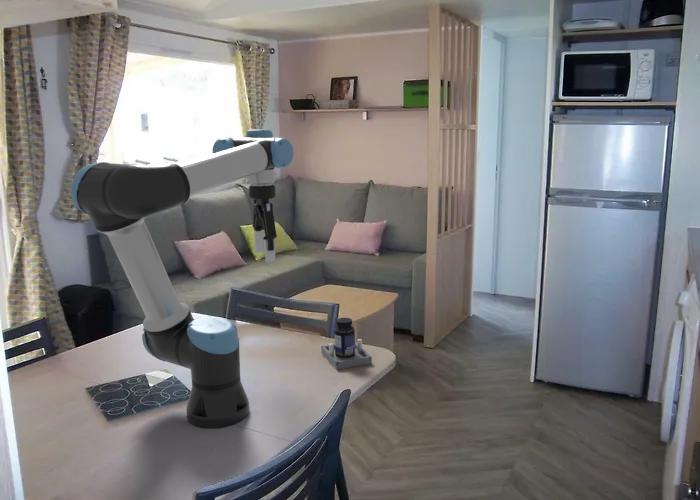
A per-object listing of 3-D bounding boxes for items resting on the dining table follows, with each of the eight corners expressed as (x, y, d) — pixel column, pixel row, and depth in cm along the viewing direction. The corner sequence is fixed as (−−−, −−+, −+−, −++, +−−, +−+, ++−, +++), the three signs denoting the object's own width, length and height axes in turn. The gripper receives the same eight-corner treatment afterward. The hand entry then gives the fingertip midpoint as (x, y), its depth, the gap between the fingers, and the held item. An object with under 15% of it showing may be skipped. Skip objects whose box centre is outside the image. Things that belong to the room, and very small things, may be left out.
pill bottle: (356, 351, 184) (355, 316, 181) (354, 358, 178) (353, 323, 175) (336, 350, 184) (335, 316, 182) (333, 358, 178) (333, 323, 176)
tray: (371, 363, 177) (371, 347, 176) (336, 369, 173) (336, 352, 172) (354, 347, 190) (354, 332, 189) (321, 352, 186) (321, 337, 185)
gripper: (285, 187, 161) (288, 264, 165) (265, 180, 184) (267, 247, 188) (258, 189, 158) (261, 266, 163) (240, 181, 181) (244, 249, 186)
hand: (265, 256), depth 176 cm, fingers open, 13 cm apart
